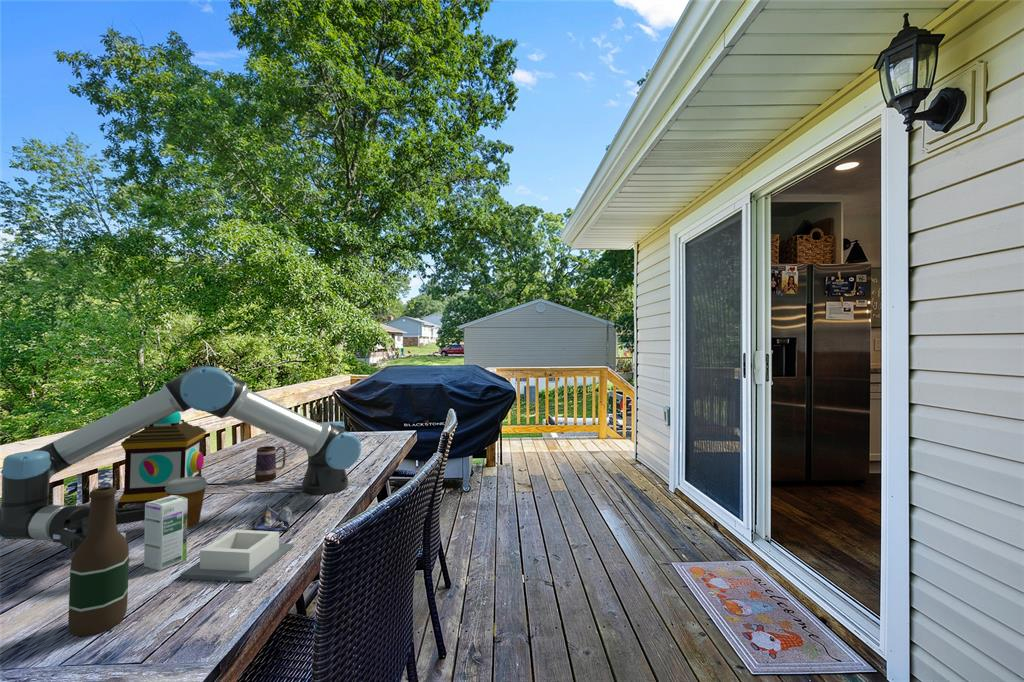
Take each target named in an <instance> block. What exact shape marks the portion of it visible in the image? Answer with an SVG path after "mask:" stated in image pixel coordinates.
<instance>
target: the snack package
mask: <svg viewBox="0 0 1024 682" xmlns="http://www.w3.org/2000/svg"><path fill="white" fill-rule="evenodd" d="M292 515H293V513H292V510H291V508H290V507H288V506H287V505H286V504H283V505H281V508H280V512H278V511H276V510H275V509H272V508H271V506H269V505H268V504H265V505H264V507H263V511H262V513H261V514H260V517H259V518H258V519H257V520H256V521H255V524H254V526H253V527H254V528H253V529H254V531H274V532H279V533H281V532H280V531H283V532H289V531H290V524H289V522H290V521H291V517H292ZM274 521H276V523H280V524H281V523H283V522H284V523H283V524H284V526H286V527H287V528H286V529H283V528H284V527H280V528H275V527H271V526H270V524H271V523H273V522H274ZM273 524H274V523H273ZM270 527H271V528H270ZM288 530H289V531H288Z"/></svg>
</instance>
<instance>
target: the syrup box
mask: <svg viewBox="0 0 1024 682" xmlns="http://www.w3.org/2000/svg"><path fill="white" fill-rule="evenodd" d="M187 502H188V501H187V498H185V497H182V496H176V495H171V496H169V497H165V498H162V499H158V500H155V501H151V502H147V503H144V505H145V520H144V545H143V547H144V548H143V549H144V552H143V553H144V554H143V566H144V567H146V568H148V569H151V570H154V571H158V572H162V571H164V570H165V569H167V568H170V567H172V566H175V565H177V564H179V563H182V562H185V561H186V560H187V557H188V555H187V553H188V551H187V550H188V547H187V545H188V541H187V539H188V528H187Z"/></svg>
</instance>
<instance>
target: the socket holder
mask: <svg viewBox="0 0 1024 682" xmlns="http://www.w3.org/2000/svg"><path fill="white" fill-rule="evenodd" d="M294 546H295V544H292V543H291V544H289V543H280V532H274V531H269V530H258V531H255V530H250V529H249V530H247V529H234V530H232V531H230V532H229V533H227V534H225V535H224V536H222V537H220V538H219V539H217V540H216V541H214V542H212V543H210V544H208V545H207V546H205V547H204V548H202V549H200V550H199V561H198V562H197V563H195V564H193V565H192V566H191V567H189V568H187V569H186V570H184V571H182V572H181V573H180V576H179V577H180V579H181V580H198V581H199V580H200V581H201V580H202V581H217V580H230V581H229V582H236V581H254V580H255V579H256V578H257V577H258V576H259V575H261V574H262V573H263V572H264V571H266V570H267V569H268V568H270V567H271V566H272V565H273V564H274V563H275V562H276V561H278V560H279V559H280V558H281V557H282V556H283V555H285V554H286V553H287V552H288V551H290V550H291V549H292V548H293V547H294ZM294 548H295V547H294ZM291 551H292V550H291ZM291 551H290V552H291ZM285 556H286V555H285ZM280 560H281V559H280ZM280 560H279V561H280ZM279 561H278V562H279ZM274 565H275V564H274ZM274 565H273V566H274ZM273 566H272V567H273ZM272 567H271V568H272ZM271 568H270V569H271ZM268 570H269V569H268ZM268 570H267V571H268ZM267 571H266V572H267ZM263 574H264V573H263ZM263 574H262V575H263ZM262 575H261V576H262ZM257 579H258V578H257ZM257 579H256V580H257ZM256 580H255V581H256ZM255 581H254V582H255Z"/></svg>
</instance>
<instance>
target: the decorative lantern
mask: <svg viewBox="0 0 1024 682" xmlns="http://www.w3.org/2000/svg"><path fill="white" fill-rule="evenodd" d="M206 433H207V430H206V429H204V428H203V427H201V426H200V425H192V424H191V423H190V424H189V422H187V421H185V419H182V415H181V412H179V411H178V412H175V413H173V414H171V415H169V416H167V417H165V418H163V419H161V420H159V421H157V422H155V423H153V424H151V425H149V426H147V427H145V428H144V429H142V430H140V431H138V432H136V433H134V434H132V435H130V436H128V437H126V438H124V440H123V441H121V443H120V445H121V447H122V449H123V451H124V454H125V455H124V456H125V457H124V478H123V480H124V483H123V493H122V495H121V496H120V497H119V499H118V501H117V503H116V504H117V505H116V506H117V507H116V508H126V506H127V505H133V504H145V503H147V502H151V501H155V500H158V499H162V498H165V497H167V492H166V490H165V487H166V486H167V483H168V482H170V481H172V480H175V479H180V478H186V477H203V475H202V468H203V467H204V461H205V459H204V458H205V457H204V455H203V439H204V437H205V435H206Z"/></svg>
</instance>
